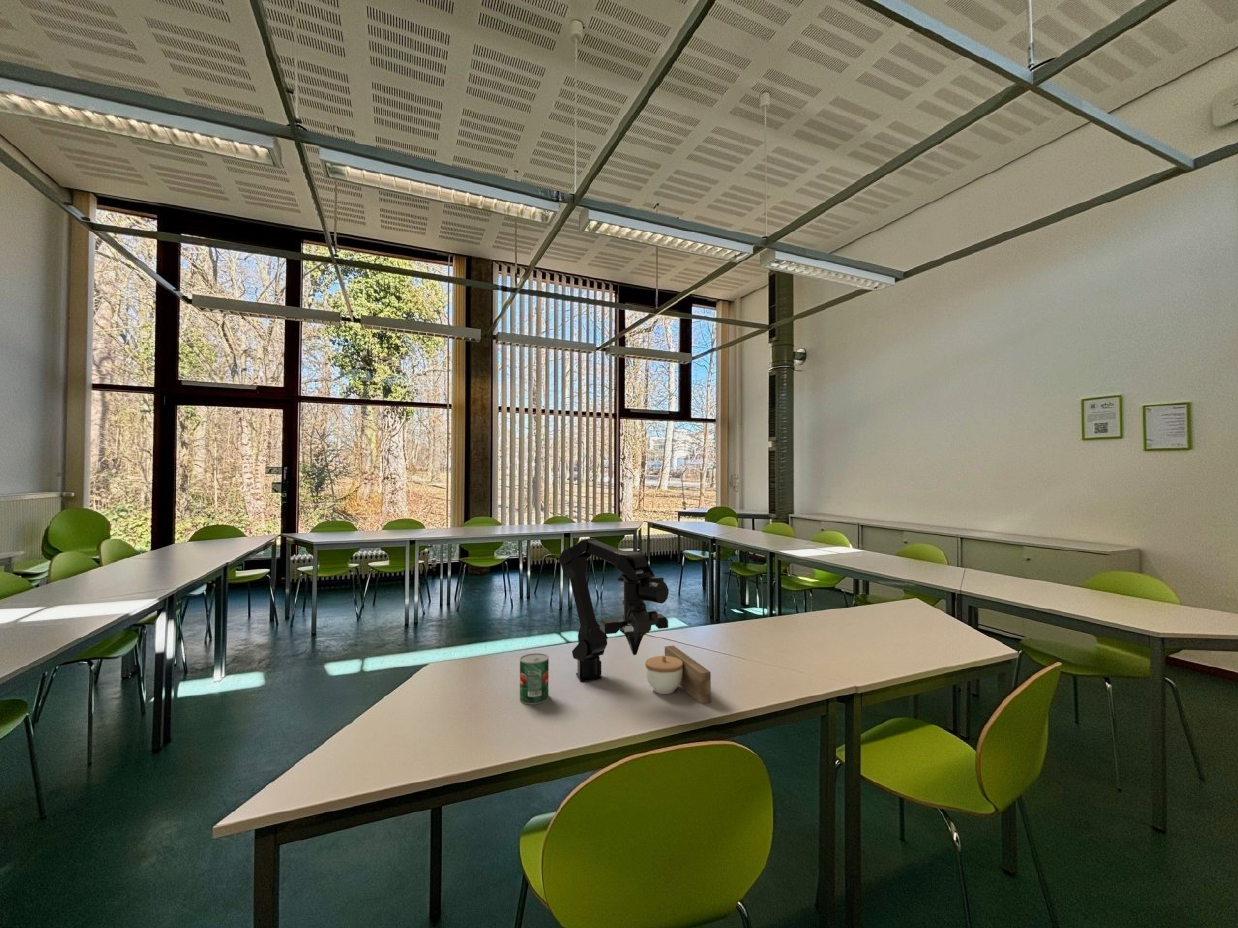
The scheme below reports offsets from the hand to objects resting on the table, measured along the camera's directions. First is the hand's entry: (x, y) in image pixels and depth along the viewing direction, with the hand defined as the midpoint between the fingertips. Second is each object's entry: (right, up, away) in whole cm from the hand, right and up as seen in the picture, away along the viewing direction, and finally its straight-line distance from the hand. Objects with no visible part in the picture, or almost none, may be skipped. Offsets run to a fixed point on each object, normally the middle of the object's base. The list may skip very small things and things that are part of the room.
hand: (634, 654), depth 140 cm
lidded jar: (+9, -11, +3) cm, 14 cm away
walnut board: (+15, -11, +5) cm, 19 cm away
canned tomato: (-28, -11, -3) cm, 30 cm away
